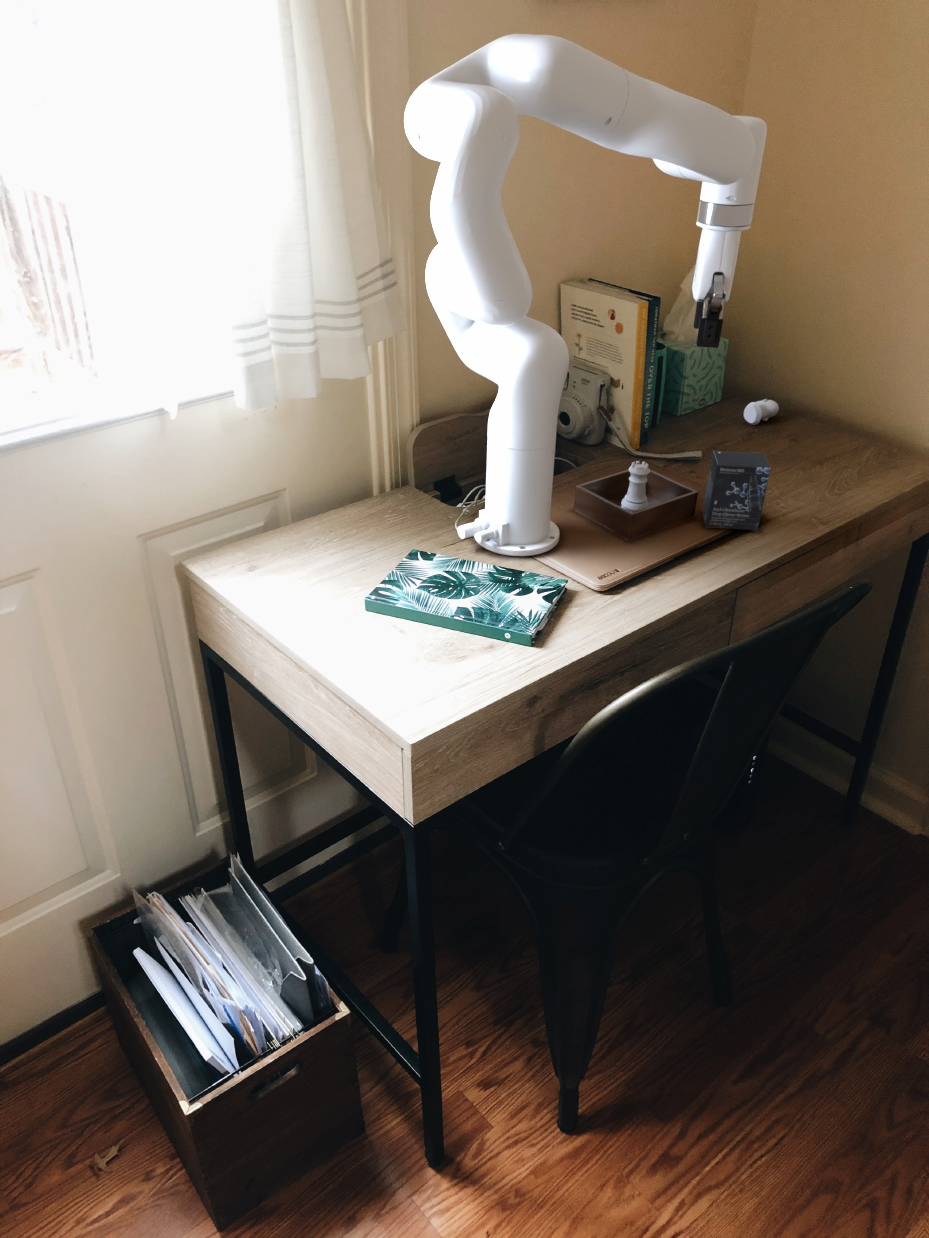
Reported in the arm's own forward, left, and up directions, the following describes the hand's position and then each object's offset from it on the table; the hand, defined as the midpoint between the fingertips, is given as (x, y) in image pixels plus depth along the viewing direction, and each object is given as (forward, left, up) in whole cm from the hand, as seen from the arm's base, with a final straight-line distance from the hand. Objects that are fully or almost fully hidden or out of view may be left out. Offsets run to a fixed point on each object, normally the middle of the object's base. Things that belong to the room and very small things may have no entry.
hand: (705, 337), depth 143 cm
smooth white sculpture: (+36, +14, -25) cm, 46 cm away
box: (-3, -13, -25) cm, 28 cm away
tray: (-13, -2, -25) cm, 28 cm away
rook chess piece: (-13, -2, -25) cm, 28 cm away
